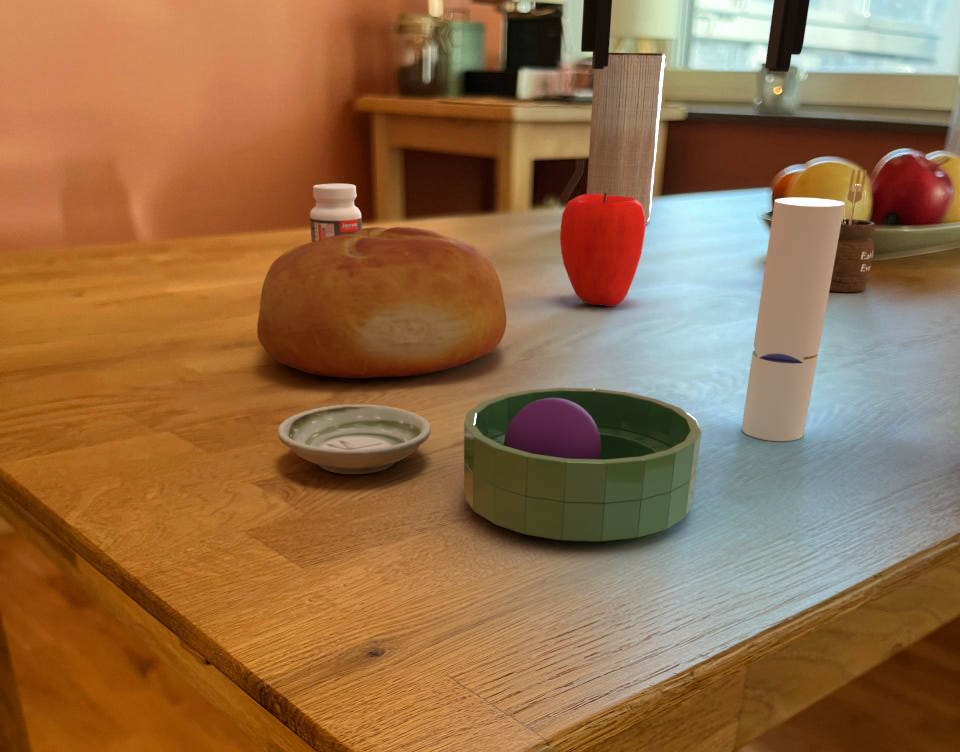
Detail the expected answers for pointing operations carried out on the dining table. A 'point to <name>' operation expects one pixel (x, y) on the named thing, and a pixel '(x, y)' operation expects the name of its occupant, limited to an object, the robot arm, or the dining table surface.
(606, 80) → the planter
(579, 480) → the bowl
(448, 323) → the bread
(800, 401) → the tube
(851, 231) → the utensil holder
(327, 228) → the pill bottle
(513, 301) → the dining table surface
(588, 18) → the robot arm
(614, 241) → the apple
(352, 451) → the saucer
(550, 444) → the ball
